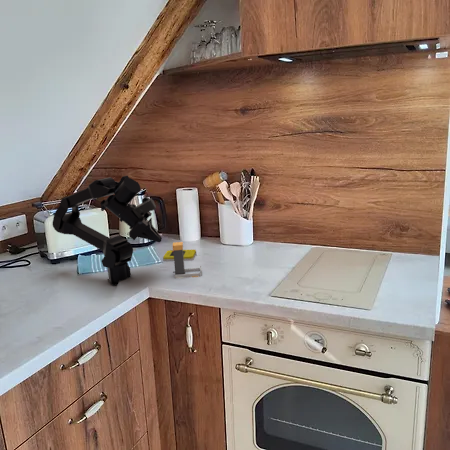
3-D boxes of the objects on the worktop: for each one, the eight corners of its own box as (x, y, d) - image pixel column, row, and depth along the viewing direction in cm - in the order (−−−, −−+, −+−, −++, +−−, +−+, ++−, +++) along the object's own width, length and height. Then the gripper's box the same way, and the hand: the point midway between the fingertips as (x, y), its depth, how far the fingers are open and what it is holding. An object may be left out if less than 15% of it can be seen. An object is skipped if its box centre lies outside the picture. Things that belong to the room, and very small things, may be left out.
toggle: (175, 277, 154) (172, 245, 151) (175, 273, 157) (173, 242, 155) (184, 276, 154) (182, 245, 151) (185, 272, 158) (182, 241, 155)
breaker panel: (171, 282, 152) (170, 273, 152) (172, 275, 159) (171, 267, 158) (202, 280, 153) (202, 271, 152) (202, 273, 160) (201, 264, 159)
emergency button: (163, 247, 179) (201, 246, 178) (164, 258, 181) (202, 256, 179) (157, 254, 171) (198, 253, 169) (159, 265, 172) (199, 264, 170)
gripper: (135, 196, 139) (175, 229, 142) (142, 186, 157) (177, 216, 160) (112, 223, 141) (152, 255, 144) (121, 211, 159) (157, 239, 162)
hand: (160, 240), depth 152 cm, fingers closed
